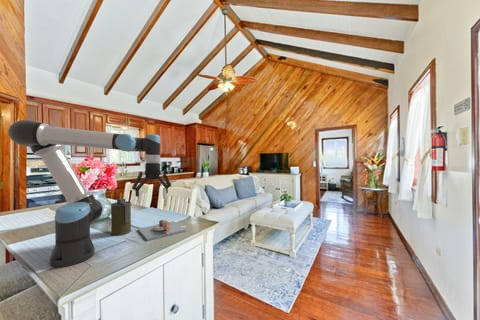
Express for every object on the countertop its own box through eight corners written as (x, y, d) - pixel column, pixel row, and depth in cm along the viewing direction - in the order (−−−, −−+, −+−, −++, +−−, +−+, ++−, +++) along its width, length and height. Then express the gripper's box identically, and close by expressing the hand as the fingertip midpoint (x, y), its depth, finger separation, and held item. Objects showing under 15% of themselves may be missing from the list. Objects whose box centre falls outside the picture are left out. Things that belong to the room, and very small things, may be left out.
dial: (150, 228, 120) (150, 218, 120) (167, 224, 126) (167, 215, 126) (158, 235, 109) (158, 224, 109) (176, 231, 115) (176, 221, 115)
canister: (106, 233, 115) (106, 199, 115) (124, 228, 124) (124, 196, 124) (118, 237, 110) (117, 201, 110) (135, 231, 119) (135, 198, 119)
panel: (147, 241, 105) (147, 238, 105) (138, 230, 120) (138, 228, 120) (189, 230, 120) (189, 228, 120) (176, 222, 135) (176, 220, 135)
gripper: (129, 162, 98) (128, 205, 98) (177, 162, 114) (176, 199, 114) (125, 162, 103) (125, 202, 103) (171, 162, 120) (171, 197, 120)
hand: (152, 201), depth 109 cm, fingers open, 13 cm apart
